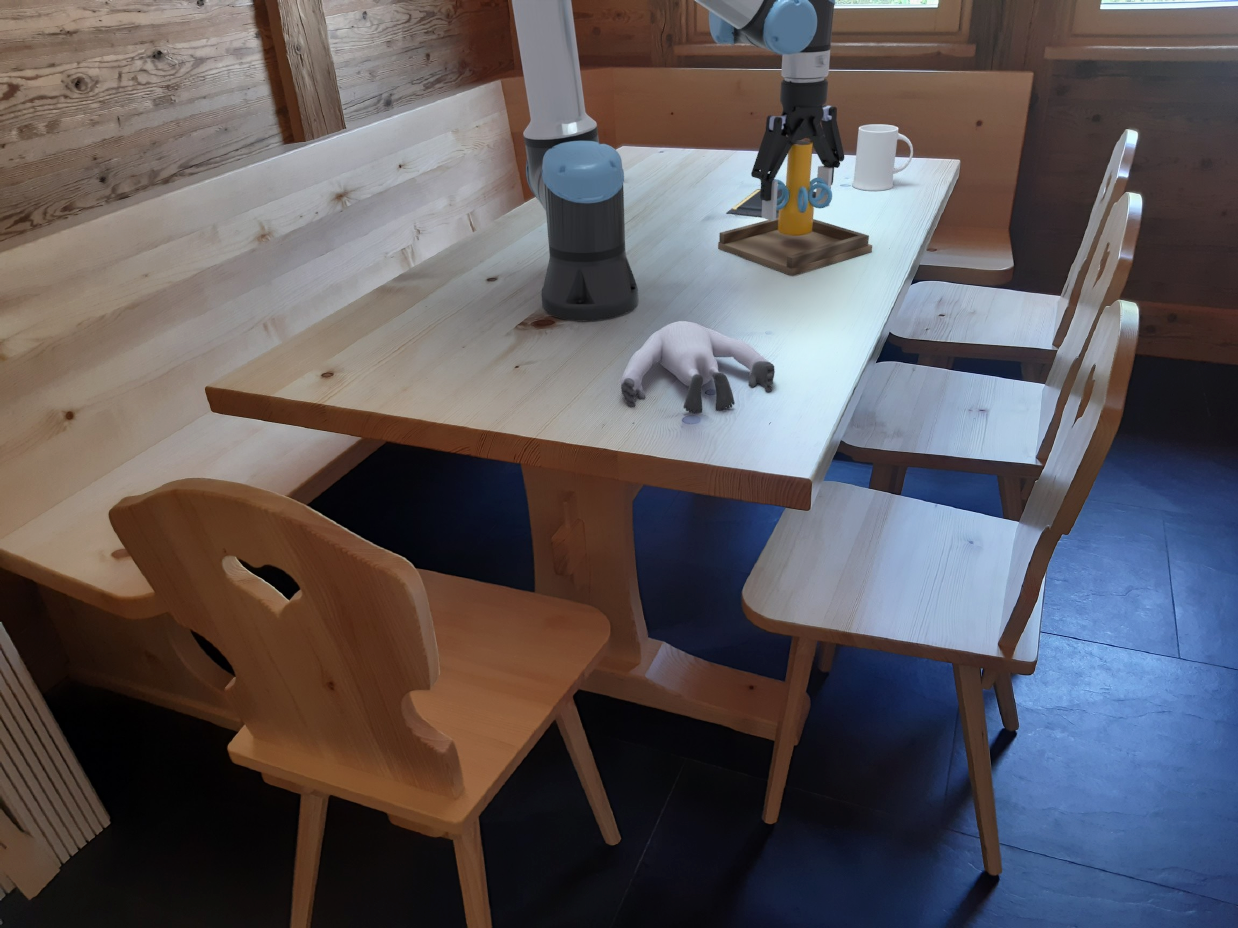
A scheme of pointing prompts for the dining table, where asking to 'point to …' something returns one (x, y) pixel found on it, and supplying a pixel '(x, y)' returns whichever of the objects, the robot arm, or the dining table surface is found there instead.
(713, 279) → the dining table surface
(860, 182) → the mug
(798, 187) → the cylinder
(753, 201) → the wallet
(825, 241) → the open-sided tray
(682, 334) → the yeti figurine
